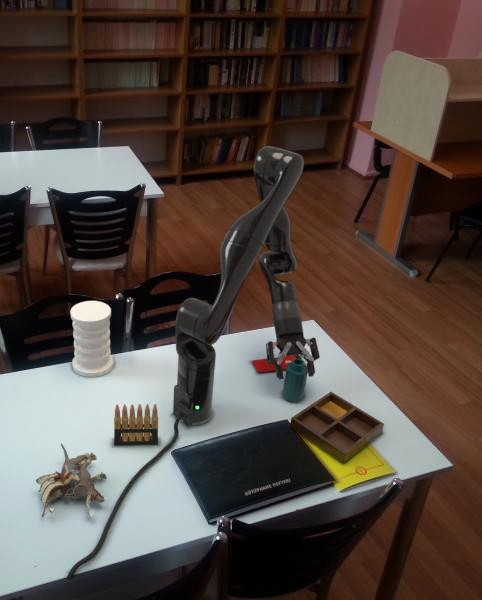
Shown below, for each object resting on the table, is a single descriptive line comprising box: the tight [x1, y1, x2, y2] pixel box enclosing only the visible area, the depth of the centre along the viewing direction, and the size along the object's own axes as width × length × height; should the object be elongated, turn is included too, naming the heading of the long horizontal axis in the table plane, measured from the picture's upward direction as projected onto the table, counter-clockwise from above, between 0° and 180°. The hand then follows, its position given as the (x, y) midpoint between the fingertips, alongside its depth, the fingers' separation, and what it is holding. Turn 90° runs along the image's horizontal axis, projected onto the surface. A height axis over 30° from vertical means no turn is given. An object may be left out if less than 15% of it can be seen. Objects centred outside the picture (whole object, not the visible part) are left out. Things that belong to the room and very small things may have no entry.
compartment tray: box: [289, 391, 385, 464], centre depth 157 cm, size 17×17×3 cm
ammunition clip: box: [113, 403, 159, 447], centre depth 146 cm, size 11×2×12 cm, turn 95°
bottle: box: [281, 358, 308, 404], centre depth 165 cm, size 6×6×12 cm
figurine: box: [35, 442, 108, 520], centre depth 133 cm, size 20×6×17 cm
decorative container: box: [69, 300, 115, 378], centre depth 171 cm, size 12×12×18 cm
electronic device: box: [251, 355, 306, 374], centre depth 180 cm, size 6×1×15 cm
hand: (296, 377), depth 165 cm, fingers open, 8 cm apart
